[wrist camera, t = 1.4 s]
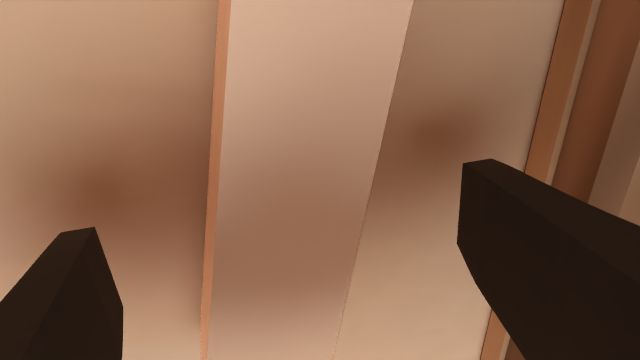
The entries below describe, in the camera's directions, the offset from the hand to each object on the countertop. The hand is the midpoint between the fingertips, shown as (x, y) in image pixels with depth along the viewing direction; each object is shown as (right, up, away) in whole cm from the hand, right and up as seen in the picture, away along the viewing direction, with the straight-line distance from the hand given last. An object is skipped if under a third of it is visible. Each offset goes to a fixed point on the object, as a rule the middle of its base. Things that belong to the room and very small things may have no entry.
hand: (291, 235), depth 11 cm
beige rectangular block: (-1, +2, +3) cm, 4 cm away
